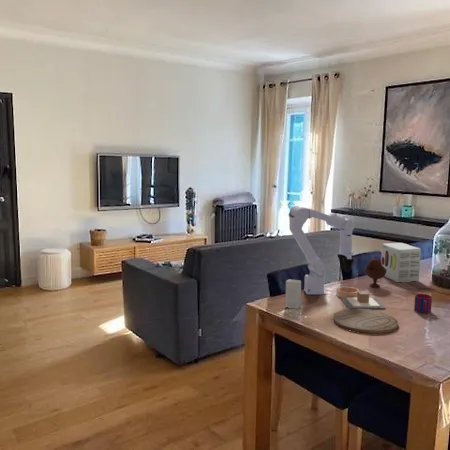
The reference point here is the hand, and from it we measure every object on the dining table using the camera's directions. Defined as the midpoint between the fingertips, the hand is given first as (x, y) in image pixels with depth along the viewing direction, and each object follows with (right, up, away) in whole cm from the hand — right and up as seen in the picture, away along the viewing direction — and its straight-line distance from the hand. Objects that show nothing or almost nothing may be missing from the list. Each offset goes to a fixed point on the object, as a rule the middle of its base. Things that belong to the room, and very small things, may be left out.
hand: (345, 270), depth 229 cm
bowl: (0, -12, -7) cm, 14 cm away
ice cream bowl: (+17, -10, +9) cm, 22 cm away
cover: (+3, -13, -20) cm, 24 cm away
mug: (+25, -15, -30) cm, 42 cm away
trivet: (-3, -18, -42) cm, 46 cm away
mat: (+3, -14, -20) cm, 24 cm away
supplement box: (+36, -7, +26) cm, 45 cm away
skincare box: (-29, -14, -24) cm, 40 cm away
